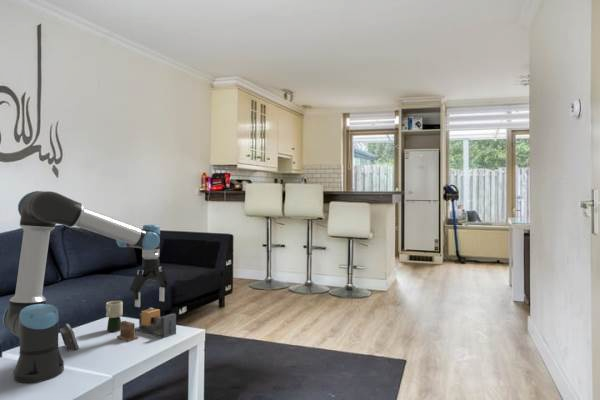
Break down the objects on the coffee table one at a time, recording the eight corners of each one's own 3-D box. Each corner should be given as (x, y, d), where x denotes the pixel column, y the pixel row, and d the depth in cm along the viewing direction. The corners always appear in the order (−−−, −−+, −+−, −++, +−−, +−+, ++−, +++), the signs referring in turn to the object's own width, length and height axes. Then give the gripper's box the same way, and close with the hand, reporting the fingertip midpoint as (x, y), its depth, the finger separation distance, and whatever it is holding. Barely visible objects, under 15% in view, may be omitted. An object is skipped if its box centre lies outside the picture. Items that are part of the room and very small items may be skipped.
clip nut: (148, 326, 194) (148, 310, 194) (141, 324, 197) (141, 308, 197) (159, 322, 200) (159, 307, 200) (152, 320, 202) (152, 305, 202)
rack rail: (163, 338, 189) (163, 317, 188) (134, 330, 199) (134, 311, 199) (176, 333, 194) (176, 314, 194) (147, 326, 205) (147, 307, 205)
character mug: (112, 326, 205) (112, 299, 205) (127, 326, 204) (127, 299, 204) (100, 333, 194) (100, 305, 194) (116, 334, 193) (116, 305, 193)
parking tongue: (128, 341, 184) (128, 325, 183) (116, 338, 188) (116, 322, 188) (138, 338, 188) (138, 322, 188) (126, 335, 192) (126, 319, 192)
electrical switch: (79, 349, 174) (76, 327, 174) (65, 353, 171) (62, 331, 170) (74, 343, 182) (72, 322, 181) (61, 347, 178) (58, 325, 178)
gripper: (133, 261, 185) (131, 310, 185) (177, 256, 207) (176, 299, 206) (122, 260, 189) (121, 307, 189) (166, 254, 211) (165, 297, 210)
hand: (149, 303), depth 198 cm, fingers open, 13 cm apart
